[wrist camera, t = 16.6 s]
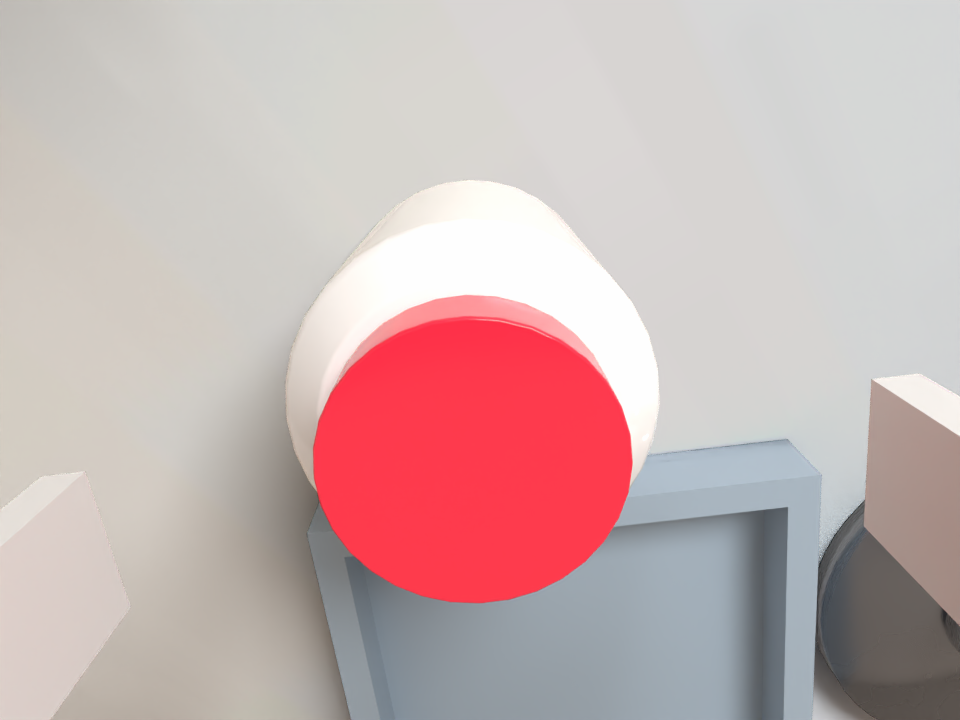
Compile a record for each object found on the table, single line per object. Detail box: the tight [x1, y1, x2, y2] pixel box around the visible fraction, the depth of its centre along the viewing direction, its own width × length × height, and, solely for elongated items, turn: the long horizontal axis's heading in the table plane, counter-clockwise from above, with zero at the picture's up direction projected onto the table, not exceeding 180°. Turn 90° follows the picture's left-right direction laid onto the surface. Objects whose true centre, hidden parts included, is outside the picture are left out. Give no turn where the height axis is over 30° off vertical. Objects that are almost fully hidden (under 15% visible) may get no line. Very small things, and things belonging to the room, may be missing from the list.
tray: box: [307, 439, 822, 720], centre depth 26 cm, size 16×16×2 cm
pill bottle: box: [285, 180, 660, 603], centre depth 17 cm, size 8×8×11 cm
